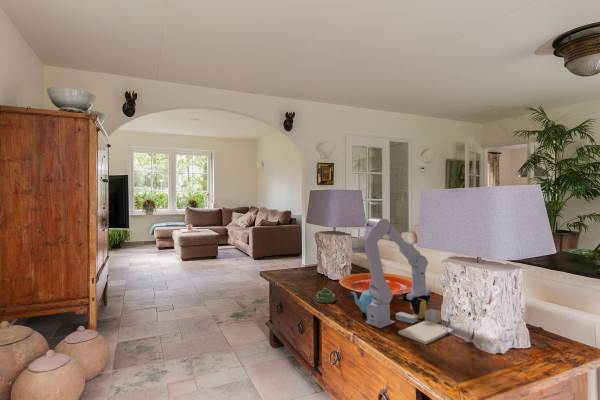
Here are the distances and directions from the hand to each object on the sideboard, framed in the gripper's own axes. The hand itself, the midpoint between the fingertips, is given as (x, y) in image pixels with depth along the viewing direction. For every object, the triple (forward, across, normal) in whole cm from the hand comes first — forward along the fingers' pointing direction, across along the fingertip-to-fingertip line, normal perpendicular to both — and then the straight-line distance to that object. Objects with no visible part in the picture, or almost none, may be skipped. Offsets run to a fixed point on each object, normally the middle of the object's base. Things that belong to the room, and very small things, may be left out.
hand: (419, 312), depth 150 cm
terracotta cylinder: (+2, +7, +7) cm, 10 cm away
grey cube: (+2, -1, -7) cm, 7 cm away
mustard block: (+2, 0, 0) cm, 2 cm away
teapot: (+2, -13, +17) cm, 21 cm away
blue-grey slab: (+2, -8, +1) cm, 8 cm away
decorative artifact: (+2, -16, +46) cm, 48 cm away
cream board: (+2, -13, -12) cm, 18 cm away
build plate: (+2, +15, +18) cm, 24 cm away
